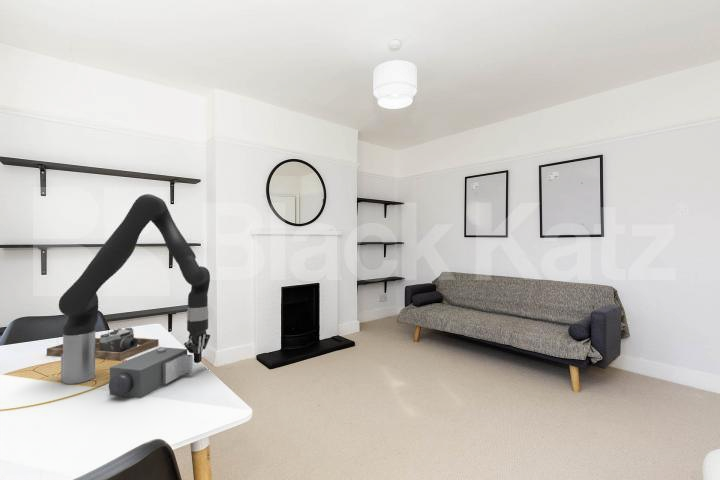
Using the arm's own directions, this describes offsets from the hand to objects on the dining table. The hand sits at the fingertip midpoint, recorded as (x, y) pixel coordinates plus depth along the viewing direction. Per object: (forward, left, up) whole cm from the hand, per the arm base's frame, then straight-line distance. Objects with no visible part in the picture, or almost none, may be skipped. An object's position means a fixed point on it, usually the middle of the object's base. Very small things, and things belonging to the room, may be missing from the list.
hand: (197, 362), depth 136 cm
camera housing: (-9, -15, -3) cm, 17 cm away
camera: (-49, +13, -4) cm, 51 cm away
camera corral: (-47, +14, -4) cm, 49 cm away
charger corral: (-69, +11, -4) cm, 70 cm away
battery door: (0, -10, -2) cm, 10 cm away
